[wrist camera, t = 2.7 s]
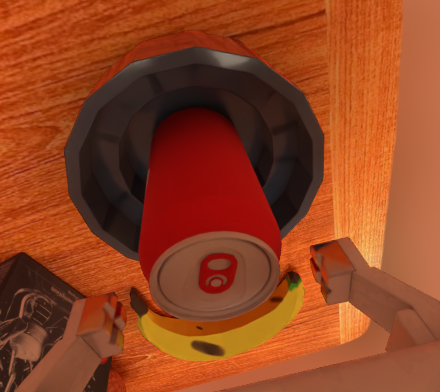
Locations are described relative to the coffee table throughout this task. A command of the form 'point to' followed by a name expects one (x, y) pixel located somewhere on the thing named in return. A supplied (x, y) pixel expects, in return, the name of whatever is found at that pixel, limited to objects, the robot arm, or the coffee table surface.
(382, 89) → the coffee table surface
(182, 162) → the beverage can
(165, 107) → the blue dish
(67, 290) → the small box
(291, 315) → the banana
